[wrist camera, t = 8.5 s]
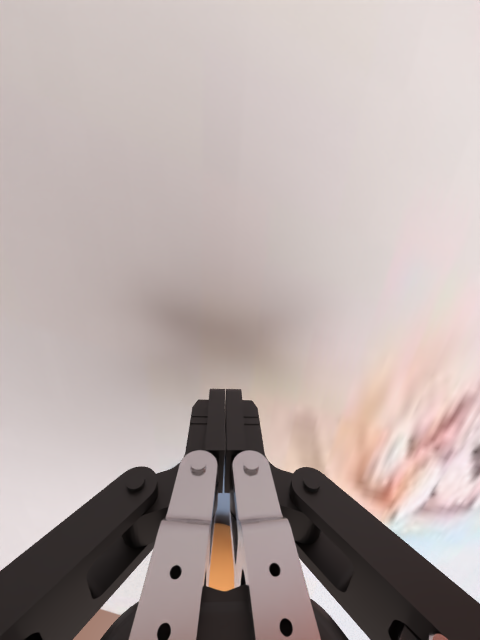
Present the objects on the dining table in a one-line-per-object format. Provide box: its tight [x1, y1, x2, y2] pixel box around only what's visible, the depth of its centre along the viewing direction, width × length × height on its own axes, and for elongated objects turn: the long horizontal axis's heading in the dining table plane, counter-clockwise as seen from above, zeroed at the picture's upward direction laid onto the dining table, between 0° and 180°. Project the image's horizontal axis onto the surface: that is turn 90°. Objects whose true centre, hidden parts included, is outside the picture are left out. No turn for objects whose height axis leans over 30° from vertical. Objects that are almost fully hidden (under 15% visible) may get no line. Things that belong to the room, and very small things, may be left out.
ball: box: [209, 523, 234, 591], centre depth 24 cm, size 6×6×6 cm
